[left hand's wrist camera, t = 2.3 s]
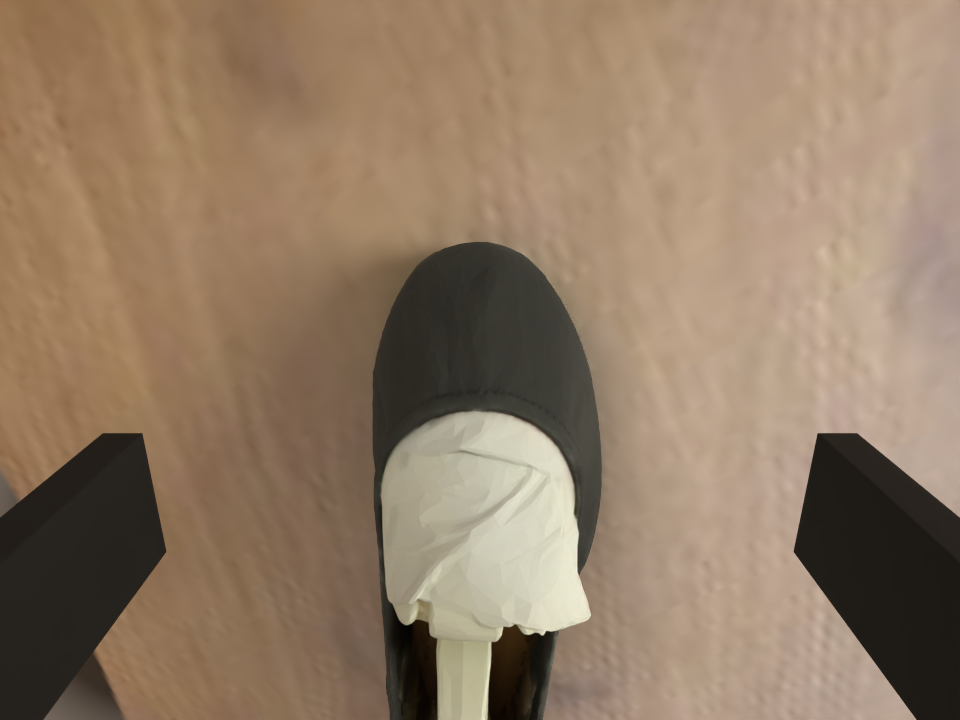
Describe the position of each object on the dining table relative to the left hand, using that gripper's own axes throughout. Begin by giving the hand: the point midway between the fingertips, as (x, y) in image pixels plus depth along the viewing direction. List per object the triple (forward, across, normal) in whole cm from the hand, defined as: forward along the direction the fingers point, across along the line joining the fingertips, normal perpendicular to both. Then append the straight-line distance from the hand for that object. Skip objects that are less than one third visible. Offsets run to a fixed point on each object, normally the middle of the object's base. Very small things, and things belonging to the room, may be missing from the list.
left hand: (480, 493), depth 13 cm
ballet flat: (+11, 0, -9) cm, 14 cm away
